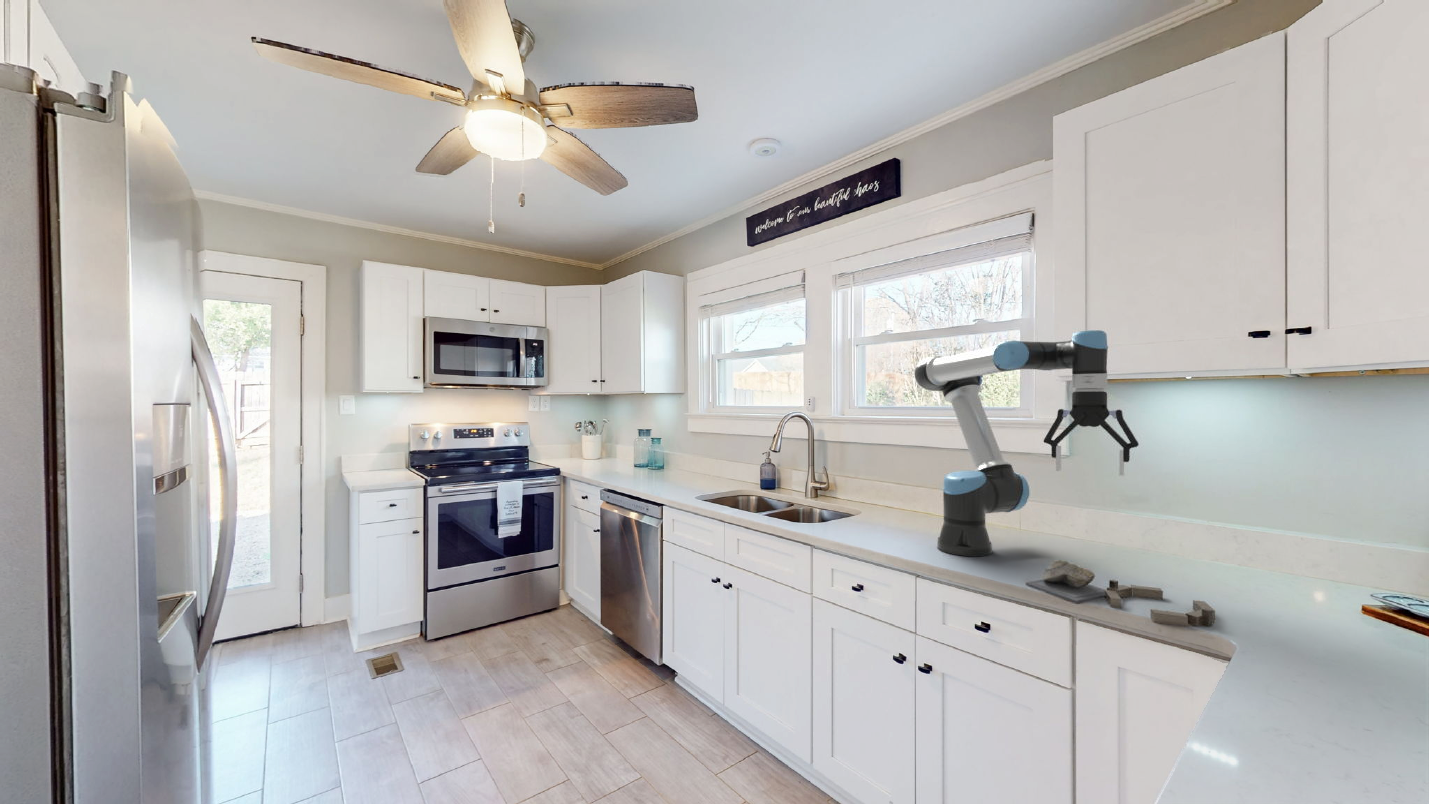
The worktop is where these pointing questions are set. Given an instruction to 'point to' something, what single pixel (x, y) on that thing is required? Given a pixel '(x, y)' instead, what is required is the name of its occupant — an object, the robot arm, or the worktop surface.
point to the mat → (1069, 591)
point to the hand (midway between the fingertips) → (1089, 472)
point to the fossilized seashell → (1068, 574)
